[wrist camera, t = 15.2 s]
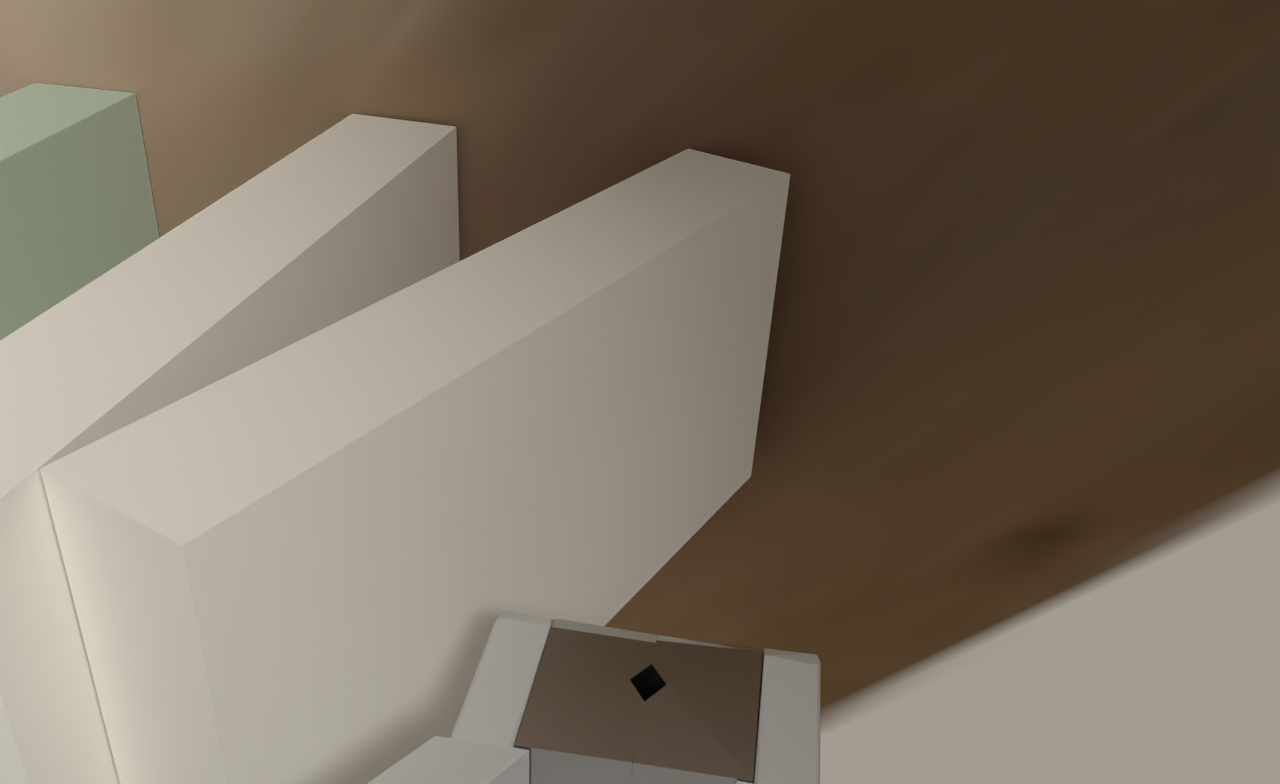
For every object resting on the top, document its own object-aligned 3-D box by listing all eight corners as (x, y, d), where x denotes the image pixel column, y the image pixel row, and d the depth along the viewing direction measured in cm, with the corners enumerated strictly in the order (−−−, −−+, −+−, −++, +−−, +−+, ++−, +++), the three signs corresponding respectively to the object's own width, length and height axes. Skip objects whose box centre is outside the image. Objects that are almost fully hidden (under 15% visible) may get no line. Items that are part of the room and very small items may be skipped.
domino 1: (456, 127, 16) (-48, 539, 8) (463, 420, 19) (87, 973, 10) (352, 114, 17) (-247, 499, 8) (373, 405, 19) (-66, 932, 11)
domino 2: (790, 173, 15) (182, 546, 8) (751, 476, 18) (261, 975, 10) (688, 148, 16) (39, 468, 9) (664, 443, 19) (147, 888, 11)
